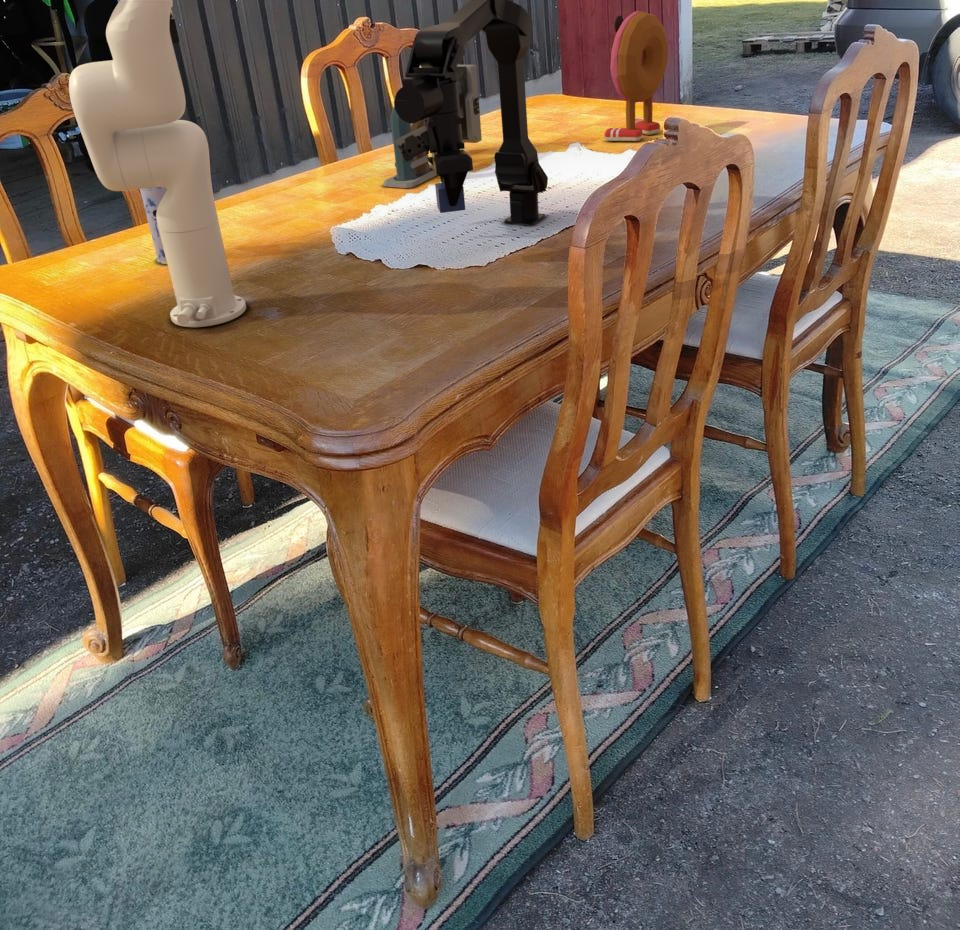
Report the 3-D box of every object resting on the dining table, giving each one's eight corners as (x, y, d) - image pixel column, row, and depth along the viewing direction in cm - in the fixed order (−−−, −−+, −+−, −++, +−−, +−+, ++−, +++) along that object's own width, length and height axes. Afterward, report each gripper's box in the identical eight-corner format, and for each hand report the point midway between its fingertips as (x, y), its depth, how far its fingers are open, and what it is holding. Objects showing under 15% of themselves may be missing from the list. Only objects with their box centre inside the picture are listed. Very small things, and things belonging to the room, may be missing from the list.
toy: (639, 125, 264) (640, 5, 249) (672, 128, 258) (675, 5, 243) (595, 143, 250) (594, 16, 235) (629, 146, 245) (630, 16, 229)
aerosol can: (156, 266, 189) (130, 162, 179) (157, 254, 195) (131, 153, 185) (197, 260, 190) (173, 156, 180) (196, 248, 197) (173, 148, 187)
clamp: (411, 188, 225) (400, 91, 214) (380, 186, 229) (368, 91, 218) (482, 152, 251) (476, 64, 240) (453, 150, 255) (446, 64, 244)
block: (461, 203, 174) (459, 180, 172) (465, 210, 170) (463, 186, 168) (437, 206, 173) (434, 183, 171) (440, 213, 170) (438, 189, 167)
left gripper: (128, -61, 172) (152, 43, 181) (113, -58, 157) (140, 55, 166) (171, -65, 173) (193, 39, 181) (160, -62, 158) (184, 50, 167)
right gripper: (390, 106, 170) (401, 194, 178) (401, 126, 154) (411, 222, 162) (453, 99, 172) (460, 187, 179) (469, 118, 156) (477, 214, 164)
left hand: (167, 46), depth 174 cm, fingers open, 9 cm apart
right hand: (451, 202), depth 171 cm, fingers closed on block, 4 cm apart
